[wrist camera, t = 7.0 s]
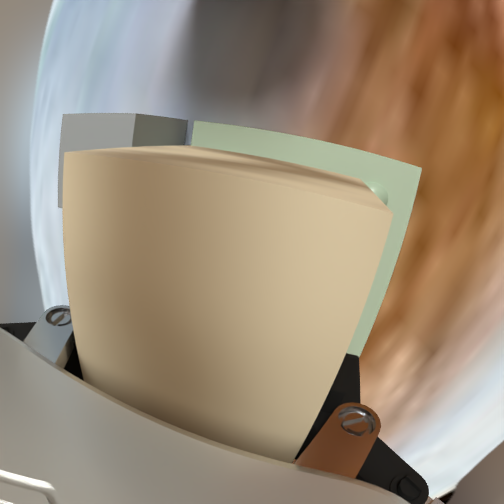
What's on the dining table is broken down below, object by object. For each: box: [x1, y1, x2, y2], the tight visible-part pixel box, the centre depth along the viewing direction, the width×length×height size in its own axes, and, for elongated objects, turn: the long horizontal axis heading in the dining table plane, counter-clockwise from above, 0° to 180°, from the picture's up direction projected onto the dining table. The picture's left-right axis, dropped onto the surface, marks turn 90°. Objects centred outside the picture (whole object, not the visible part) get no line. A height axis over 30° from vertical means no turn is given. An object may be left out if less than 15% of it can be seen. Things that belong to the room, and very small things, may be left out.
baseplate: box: [191, 121, 422, 357], centre depth 20 cm, size 14×14×1 cm
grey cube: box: [58, 113, 188, 208], centre depth 18 cm, size 6×6×6 cm
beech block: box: [63, 145, 393, 464], centre depth 9 cm, size 6×12×6 cm, turn 170°
